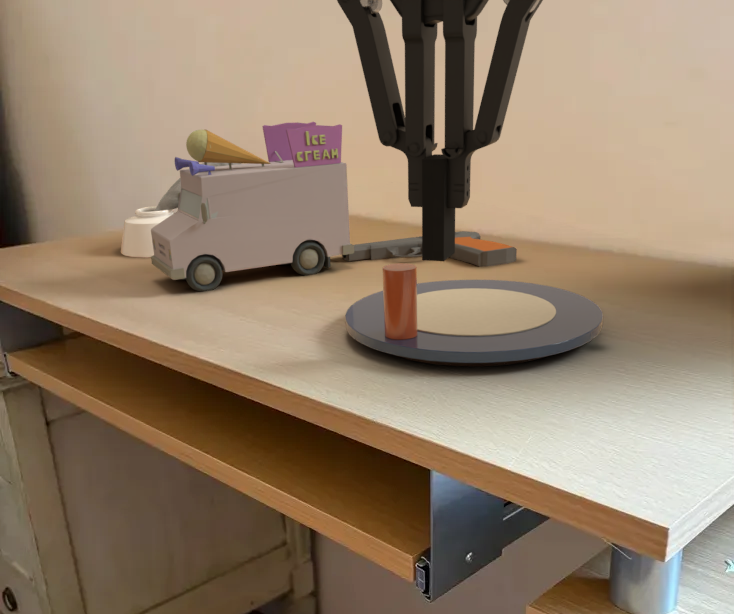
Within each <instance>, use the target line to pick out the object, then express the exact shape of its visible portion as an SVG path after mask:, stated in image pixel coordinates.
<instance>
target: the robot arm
mask: <svg viewBox="0 0 734 614" xmlns="http://www.w3.org/2000/svg"><path fill="white" fill-rule="evenodd" d="M389 1H390V3H391V4H392V6H393V7H394V9H395V10H396V13H398V15H399V17H400V18H401V36H402V40H403V43H404V107H403V103H402V97H401V94H400V89H399V85H398V79H397V76H396V71H395V67H394V62H393V59H392V53H391V48H390V45H389V40H388V36H387V32H386V27H385V24H384V20H383V18H382V16H381V14H380V11H381V9H382V7H383V0H336V2H337V3H338V5H339V7H340V8H341V10H342V12H343V13H344V15H345V16H346V18H347V19H348V22H349V23H350V26H351V27H352V30H353V35H354V39H355V43H356V47H357V51H358V55H359V60H360V64H361V69H362V72H363V78H364V82H365V86H366V89H367V93H368V94H367V95H368V98H369V102H370V106H371V110H372V114H373V119H374V123H375V127H376V132H377V136H378V140H379V142H380V144H381V145H382V146H385V147H391V148H393V149H396V150H397V151H400V152H402V153H403V154H404V155H405V156H406V160H407V198H408V199H407V200H408V202H409V205H410V207H412V208H421V236H422V256H421V260H422V261H430V262H431V261H432V262H445V261H446V260H448V259H450V258H449V257H450V256H451V255H453V254H454V253H455V232H456V209H463V208H464V207H466V206H468V203H469V201H470V198H471V169H472V167H471V166H472V165H471V163H472V162H471V161H472V158H473V154H474V153H475V152H476V151H478V150H480V149H483V148H485V147H488V146H490V145H493V144H496V142H498V141H499V139H500V138H501V135H502V130H503V127H504V122H505V118H506V116H507V112H508V108H509V103H510V100H511V96H512V94H513V93H512V92H513V89H514V85H515V81H516V78H517V77H516V76H517V73H518V69H519V66H520V61H521V57H522V53H523V50H524V46H525V42H526V39H527V35H528V31H529V27H530V23H531V20H532V19H533V18H534V17H533V16H534V15H535V13H536V12H537V10H538V9H539V7H540V5H541V4H542V3H543V1H544V0H502V1H503V3H504V4H505V5H506V6H505V9H504V11H503V14H502V18H501V19H500V23H499V28H498V32H497V35H496V40H495V43H494V48H493V51H492V56H491V60H490V63H489V68H488V71H487V76H486V80H485V84H484V88H483V92H482V97H481V100H480V105H479V109H478V113H477V116H476V121H475V124H474V108H475V107H474V106H475V105H474V104H475V103H474V102H475V101H474V100H475V52H476V51H475V49H476V48H475V47H476V46H475V45H476V39H477V34H478V17H479V15H480V14H481V13H482V12H483V10H484V8H485V7H486V5H487V4H488V2H489V1H490V0H389ZM439 23H442V37H443V40H444V147H443V148H441V150H440V151H441V154H436V153H435V154H433V152H434V151H436V149H437V147H438V144H439V143H438V142H435V129H436V128H435V125H436V124H435V121H436V120H435V119H436V117H435V115H436V114H435V111H436V110H435V109H436V108H435V106H436V103H435V101H436V97H435V94H436V41H437V39H438V24H439Z"/></svg>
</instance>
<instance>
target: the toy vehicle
mask: <svg viewBox="0 0 734 614" xmlns="http://www.w3.org/2000/svg"><path fill="white" fill-rule="evenodd" d="M262 132H263V138H264V143H265V149H266V154H267V159H268V161H267V160H265V159H263V158H261V157H260V156H258V155H256V154H253V153H251V152H250V151H248V150H246V149H244V148H242V147H240V146H238V145H237V144H234V143H232V142H231V141H229V140H227V139H225V138H223V137H221V136H219V135H217V134H216V133H213V132H212V131H210V130H208V129H197V130H194V131H192V132H191V133H190V134H189V135H188V137H187V139H186V142H185V144H186V145H185V147H186V151H187V153H188V155H189V156H190V157H191V158H192V159H193V160H190V159H185V158H181V157H177V156H175V157H174V167H175V170H176V171H177V172H178V171H179V178H180V180H181V191H180V195H179V192H178V202H179V205H178V208H177V210H176V211H175V212H173V213H174V214H172V215H171V216H169V217H168V218H166V219H165V220H163V221H162V222H160V223H159V224H158V225H156V226H155V227H153V228H152V229H151V235H152V243H153V250H154V255H153V256H151V257H150V261H151V264H152V265H153V266H154V267H156V268H157V269H158V270H159V271H161V272H162V273H163V274H165V275H166V276H167V277H169V278H170V279H171V280H173V281H176V280H185V281H186V283H187V285H188V286H189V287H190V288H191V289H192V290H194V291H195V292H201V293H202V292H209V291H213V290H215V289H217V288H218V286H220V283H221V281H222V280H223V275H224V273H223V272H225V273H229V272H235V271H243V270H249V269H250V270H251V269H257V268H262V267H263V268H264V267H269V266H271V267H272V266H276V265H282V266H288V265H290V266H291V268H292V269H293V270H294V272H296V274H299V275H300V276H312V275H316V274H318V273H319V272H320V271H321V270H322V269H323V268H325V269H330V268H331V258H332V257H336V256H342V255H347V254H353V253H354V245H355V244H352V243H351V235H350V210H349V189H348V188H349V187H348V168H347V167H348V166H347V165H348V164H347V162H343V161H342V146H343V145H342V144H343V125H342V124H335V125H320V124H317V122H315V121H311V122H307V123H305V122H298V121H297V122H282V123H277V124H272V125H267V124H264V125H262ZM207 162H209V163H229V165H228V166H217V167H214V166H209V165H207ZM202 163H205V165H203V164H202ZM231 163H241V164H238V165H231ZM184 168H185V169H184Z"/></svg>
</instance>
